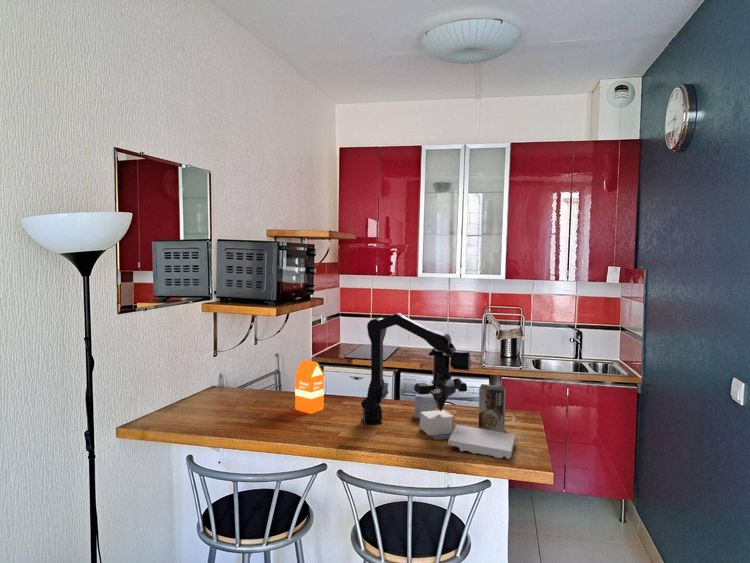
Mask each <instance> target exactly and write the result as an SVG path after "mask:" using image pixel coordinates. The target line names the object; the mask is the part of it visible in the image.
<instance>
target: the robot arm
mask: <svg viewBox="0 0 750 563" xmlns="http://www.w3.org/2000/svg"><path fill="white" fill-rule="evenodd" d="M366 326H367V328H366V329H367V335H368V338H369V340H370V343H371V344H370V348H371V349H370V356H371V357H370V361H371V362H370V363H371V364H370V365H371V366H370V367H371V369H370V372H371V373H370V374H371V375H370V382H369V386H368V389H367V395H366V397H365V398H364V400H362V401H361V402H360V404H361V407H362V417H361V421H362V422H363V423H364V424H365V425H376V424H377V425H378V424H383V421H382V420H383V409H382V405H380V404H381V403H382V402H383V401H384V400H385V399H386V398H387V395H388V394H389V391H388V390H389V389H388V388H389V382H386V381H385V380H384V340H385V337H386V333H387V329H388V328H390V327H393V326H398V327H400V328H402V329H404V330H406V331H408V332H409V333H411V334H414V335H416V336H417V337H420V338H421V339H423V340H424V341H426V343H427V344H429V345H430V346H431V347H432V349H431V351H429V353H428V354H427V355H428V356H430V357H433V367H432V368H433V369H431V373H432V375H433V376H432V380H431V384H427V383H426V382H417V383H415V385H414V388H413V391H414V392H416V394H421V395H424V394H432V395H433V397H434V399H435V405H436V406H437V410H439V411H442V410H444V409H443V408H444V406H445V403H446V401H447V399H448V398H449V396H451V395H453V394H456V392H457V391H456V390H458V392H460V393H462V392H463V393H464V392H468V386H467V383H465V382H464V381H462V380H461V378H460V377H459V378H452V372H451V371H450V367H451V368H452V370H457V371H467V372H470V371H471V366H472V359H471V352H470V351H467V350H466V351H461V350H457V349H456V347H455V346H454V344H453V343H452V337H451V336H450V335H449V334H448V333H447V332H443V331H440V330H435V329H431V328H428V327H426V326H424V325H423V324H420V323H419V322H417V321H415V320H413V319H411V318H409V317H408V316H405V315H403V314H402V313H400V312H397V313H394V314H392V315H390V316H388V317H384V318H383V317H375V318H373V319H371V320H369V321H368V323H367V325H366Z"/></svg>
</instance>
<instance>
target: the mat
mask: <svg viewBox="0 0 750 563" xmlns="http://www.w3.org/2000/svg"><path fill="white" fill-rule="evenodd" d="M457 425H458V424H456V423H455V426H454V429H455V427H456V426H457ZM416 426H418V427H419V428H420V423H417V425H416ZM451 434H452V433H447V434H438V435H429V436H430V437H431V438H432V439H433V440H435V441H440V440H449V438H450V436H451Z"/></svg>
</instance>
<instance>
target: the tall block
mask: <svg viewBox="0 0 750 563" xmlns="http://www.w3.org/2000/svg"><path fill="white" fill-rule="evenodd" d="M455 417H456V416H455V415H453V414H452V413H450V412H449V411H448V410H446V409H442V411H439V410H438V409H437V410H436V409H435V411H425V412H420V418H419V424H420V427H419V429H420V430H422V432H424V433H425V434H426V435H428V436H430V435H438V434H447V433H453V431H454V426H455V424H456V423H455V422H456V420H455Z"/></svg>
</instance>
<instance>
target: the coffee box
mask: <svg viewBox="0 0 750 563" xmlns="http://www.w3.org/2000/svg"><path fill="white" fill-rule="evenodd" d="M480 384H481V385H480V386H479V389H478V427H477V428H479V429H485V430H491V431H497V432H503V433H505V425H506V424H505V421H506V420H505V418H506V416H505V415H506V414H505V413H506V412H505V411H506V386H505V385H496V384H485V383H480Z"/></svg>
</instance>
